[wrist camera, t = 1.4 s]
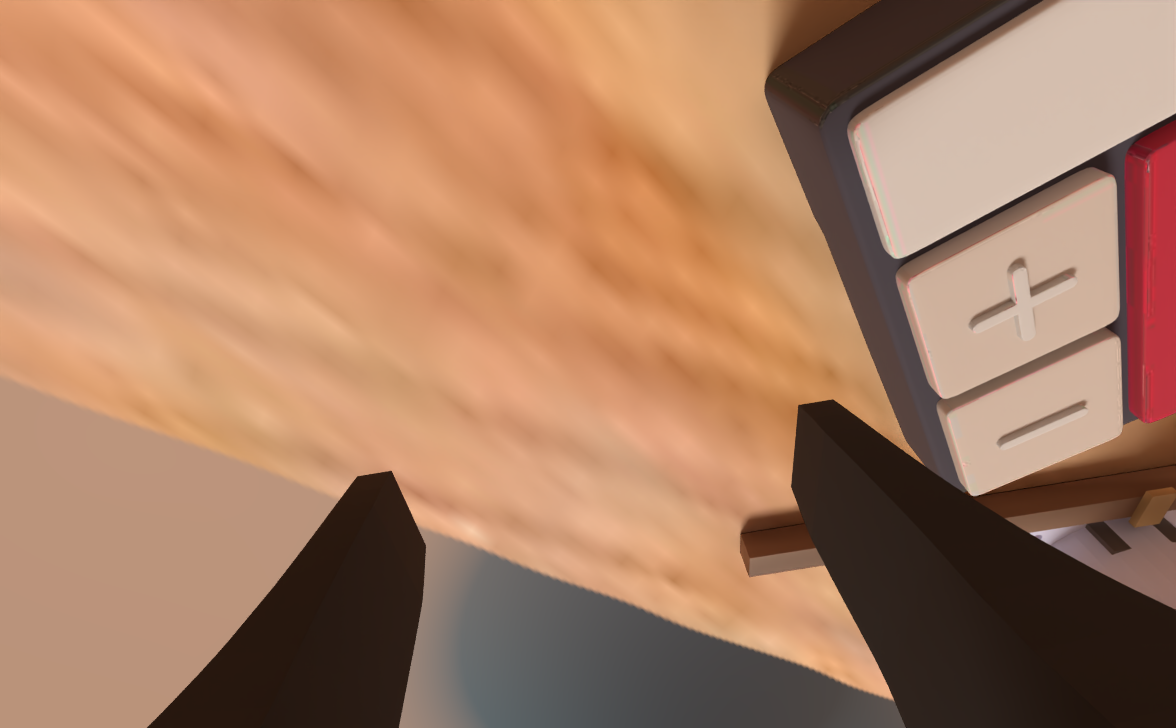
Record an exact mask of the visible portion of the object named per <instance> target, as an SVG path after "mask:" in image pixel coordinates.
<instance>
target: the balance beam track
mask: <svg viewBox="0 0 1176 728" xmlns="http://www.w3.org/2000/svg"><path fill="white" fill-rule="evenodd" d="M972 498H973V499H975V500H976V501H978V502H979V503H981V504H983V505H984V506H986V507H987V508H989V509H991V510H992V511H994V512H995V513H997V514H999V515H1000V516H1002V517H1003V518H1005V519H1007V520H1008V521H1010V522H1011V523H1013V524H1015V525H1016V526H1018V527H1020V528H1021V529H1023V530H1025V531H1027V532H1028V533H1032V532H1038V531H1045V530H1051V529H1057V528H1064V527H1070V526H1076V525H1083V524H1087V525H1086V527H1085V528H1086V529H1087V530H1088V531H1089V532H1090V533H1091V534H1092V535H1093V536H1094V537H1095V538H1096V539H1097V540H1098V541H1099V542H1100V543H1101V544H1102V545H1103V546H1104V547H1105V548H1106V549H1107V550H1108V551H1109V552H1110V553H1111V554H1112V555H1114V554H1116V553H1119V552H1122V551H1126V550H1129V549H1132V548H1131V547H1130V546H1129V545H1128V544H1127V543H1126V542H1125V541H1124V540H1122V539H1121V538H1120V537H1119V536H1118V535H1117V534H1116V533H1115V532H1114V531H1113V530H1112V529H1111V528H1110V527H1109V526H1108V525H1107V524H1106V523H1105V522H1104V521H1108V520H1114V519H1121V518H1127V517H1131V518H1130V520H1129V521H1128V522H1129V523H1130V524H1131V525H1132V526H1133V527H1134V528H1136V527H1142V526H1148V525H1153V526H1154V527H1155V528H1157V529H1158V530H1159V531H1160V532H1161V533H1162V534H1163V535H1164V536H1165V537H1167V538H1168V539H1169V540H1170V541H1171V542H1176V528H1175V527H1174V526H1173V525H1172V524H1171V523H1170V522H1169V521H1167V520H1166V519H1165V518H1164V516H1165V514H1166V513H1167V511H1171V510H1176V465H1174V466H1167V467H1161V468H1155V469H1148V470H1142V471H1136V472H1129V473H1123V474H1117V475H1111V476H1104V477H1098V478H1092V479H1085V480H1079V481H1073V482H1066V483H1060V484H1054V485H1047V486H1041V487H1035V488H1028V489H1022V490H1016V491H1010V492H1003V493H997V494H991V495H984V496H978V497H972ZM740 553H741V556H742V558H743V561H744V564H745V567H746V570H747V572H748V575H749V577H753V576H759V575H766V574H772V573H778V572H785V571H791V570H797V569H804V568H810V567H816V566H823V565H825V564H824V562H823V561H822V559H821V557H820V555H819V553H818V551H817V549H816V547H815V545H814V543H813V541H812V539H811V537H810V535H809V532H808V530H807V527H806V525H805V524H801V525H795V526H789V527H782V528H776V529H770V530H763V531H757V532H751V533H744V534H741V546H740Z"/></svg>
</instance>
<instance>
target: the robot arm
mask: <svg viewBox="0 0 1176 728" xmlns="http://www.w3.org/2000/svg"><path fill="white" fill-rule="evenodd" d="M791 488H792V490H793V493H794V496H795V498H796V501H797V504H798V506H799V509H800V512H801V514H802V517H803V520H804V522H805V525H806V527H807V530H808V532H809V535H810V537H811V539H812V541H813V543H814V545H815V547H816V549H817V551H818V553H819V555H820V557H821V559H822V561H823V562H824V564H825V566H826V568H827V570H828V572H829V574H830V576H831V578H832V580H833V581H834V583H835V585H836V587H837V589H838V591H839V593H840V594H841V596H842V598H843V600H844V602H845V604H846V606H847V608H848V609H849V611H850V613H851V615H852V617H853V619H854V621H855V622H856V624H857V626H858V628H859V630H860V632H861V634H862V635H863V637H864V639H865V641H866V643H867V645H868V647H869V649H870V650H871V652H872V654H873V656H874V658H875V660H876V662H877V664H878V666H879V668H880V670H881V672H882V674H883V676H884V678H885V680H886V682H887V685H888V687H889V689H890V691H891V694H892V696H893V698H894V701H895V703H896V705H897V708H898V710H899V713H900V715H901V717H902V720H903V722H904V724H905V727H906V728H1176V542H1171V541H1170V540H1169V539H1168V538H1167V537H1165V536H1164V535H1163V534H1162V533H1161V532H1160V531H1159V530H1158V529H1157V528H1155V527H1154V526H1153V525H1148V526H1142V527H1136V528H1134V527H1133V526H1132V525H1131V524H1130V523H1129V522H1128V521H1129V520H1130V518H1131V517H1127V518H1121V519H1114V520H1108V521H1104V522H1105V523H1106V524H1107V525H1108V526H1109V527H1110V528H1111V529H1112V530H1113V531H1114V532H1115V533H1116V534H1117V535H1118V536H1119V537H1120V538H1121V539H1122V540H1124V541H1125V542H1126V543H1127V544H1128V545H1129V546H1130V547H1131V548H1132V549H1129V550H1126V551H1122V552H1119V553H1116V554H1114V555H1112V554H1111V553H1110V552H1109V551H1108V550H1107V549H1106V548H1105V547H1104V546H1103V545H1102V544H1101V543H1100V542H1099V541H1098V540H1097V539H1096V538H1095V537H1094V536H1093V535H1092V534H1091V533H1090V532H1089V531H1088V530H1087V529H1086V528H1085V527H1086V525H1087V524H1083V525H1076V526H1070V527H1064V528H1057V529H1051V530H1045V531H1038V532H1032V533H1028V532H1027V531H1025V530H1023V529H1021V528H1020V527H1018V526H1016V525H1015V524H1013V523H1011V522H1010V521H1008V520H1007V519H1005V518H1003V517H1002V516H1000V515H999V514H997V513H995V512H994V511H992V510H991V509H989V508H987V507H986V506H984V505H983V504H981V503H979V502H978V501H976V500H975V499H973V498H971V497H970V496H968V495H967V494H965V493H964V492H962V491H961V490H959V489H958V488H956V487H955V486H953V485H952V484H950V483H949V482H947V481H946V480H944V479H943V478H941V477H940V476H938V475H937V474H935V473H934V472H933V471H931V470H930V469H928V468H927V467H925V466H924V465H922V464H921V463H920V462H918V461H917V460H915V459H914V458H913V457H911V456H910V455H908V454H907V453H906V452H904V451H903V450H901V449H900V448H899V447H897V446H896V445H894V444H893V443H892V442H890V441H889V440H888V439H886V438H885V437H884V436H882V435H881V434H879V433H878V432H877V431H875V430H874V429H873V428H871V427H870V426H869V425H867V424H866V423H865V422H863V421H862V420H861V419H859V418H858V417H857V416H855V415H854V414H852V413H851V412H850V411H848V410H847V409H846V408H844V407H843V406H842V405H840V404H839V403H837V402H836V401H835V400H827V401H821V402H815V403H809V404H802V405H798V416H797V427H796V439H795V450H794V461H793V473H792V484H791ZM1164 518H1165V519H1166V520H1167V521H1169V522H1170V523H1171V524H1172V525H1173V526H1174V527H1175V528H1176V510H1171V511H1167V513H1166V514H1165V516H1164ZM425 553H426V545H425V543H424V540H423V538H422V536H421V534H420V532H419V530H418V527H417V525H416V523H415V521H414V519H413V517H412V514H411V512H410V510H409V508H408V506H407V503H406V501H405V499H404V497H403V495H402V493H401V490H400V488H399V486H398V484H397V482H396V480H395V477H394V475H393V473H392V471H388V472H382V473H376V474H369V475H363V476H357V478H356V479H355V480H354V482H353V483H352V484H351V485H350V487H349V488H348V489H347V491H346V492H345V493H344V495H343V496H342V497H341V499H340V500H339V501H338V503H337V504H336V505H335V507H334V508H333V510H332V511H331V512H330V513H329V515H328V516H327V518H326V519H325V520H324V522H323V523H322V524H321V526H320V527H319V528H318V530H317V531H316V532H315V534H314V535H313V536H312V538H311V539H310V540H309V542H308V543H307V544H306V546H305V547H304V548H303V550H302V551H301V552H300V553H299V555H298V556H297V557H296V559H295V560H294V561H293V563H292V564H291V565H290V566H289V568H288V569H287V570H286V572H285V573H284V574H283V576H282V577H281V578H280V579H279V581H278V582H277V583H276V585H275V586H274V587H273V588H272V590H271V591H270V592H269V593H268V594H267V596H266V597H265V598H264V599H263V601H262V602H261V603H260V604H259V605H258V606H257V608H256V609H255V610H254V611H253V612H252V614H251V615H250V616H249V617H248V618H247V620H246V621H245V622H244V623H243V624H242V626H241V627H240V628H239V629H238V630H237V632H236V633H235V634H234V635H233V637H232V638H231V639H230V640H229V641H228V642H227V643H226V645H225V646H224V647H223V648H222V649H221V650H220V651H219V652H218V654H217V655H216V656H215V657H214V658H213V659H212V660H211V661H210V662H209V664H208V665H207V666H206V667H205V668H204V669H203V670H202V671H201V672H200V673H199V675H198V676H197V677H196V678H195V679H194V680H193V681H192V682H191V683H190V684H189V685H188V686H187V687H186V688H185V690H183V691H182V693H180V694H179V696H178V697H177V698H176V699H175V700H174V701H173V702H172V703H171V704H170V705H169V706H168V707H167V708H166V709H165V710H164V711H163V712H162V713H161V714H160V715H159V716H158V717H157V718H156V719H155V720H154V721H153V722H152V723H151V724H150V725H149V726H148V727H147V728H399V723H400V718H401V713H402V708H403V703H404V697H405V692H406V687H407V682H408V676H409V671H410V666H411V660H412V656H413V650H414V645H415V640H416V634H417V629H418V623H419V617H420V612H421V607H422V600H423V587H424V572H425V571H424V570H425Z"/></svg>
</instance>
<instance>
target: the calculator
mask: <svg viewBox="0 0 1176 728" xmlns="http://www.w3.org/2000/svg"><path fill="white" fill-rule="evenodd" d="M765 96H766V99H767V102H768V105H769V107H770V110H771V112H772V115H773V117H774V120H775V122H776V125H777V127H778V129H779V132H780V134H781V137H782V139H783V142H784V144H785V147H786V149H787V151H788V154H789V156H790V159H791V161H792V164H793V166H794V169H795V171H796V173H797V176H798V178H799V181H800V183H801V186H802V188H803V191H804V193H805V195H806V198H807V200H808V203H809V205H810V208H811V210H812V212H813V215H814V217H815V219H816V221H817V222H818V224H819V226H820V228H821V230H822V232H823V233H824V236H825V238H826V241H827V243H828V246H829V248H830V251H831V253H832V256H833V259H834V261H835V264H836V266H837V269H838V271H839V274H840V277H841V279H842V282H843V284H844V287H845V289H846V292H847V295H848V297H849V300H850V302H851V305H852V307H853V310H854V313H855V315H856V318H857V320H858V323H859V326H860V328H861V331H862V333H863V336H864V338H865V341H866V344H867V346H868V349H869V351H870V354H871V356H872V359H873V361H874V363H875V366H876V368H877V371H878V373H879V376H880V378H881V381H882V383H883V386H884V388H885V391H886V393H887V396H888V398H889V401H890V403H891V405H892V408H893V410H894V413H895V415H896V418H897V420H898V423H899V425H900V427H901V430H902V432H903V435H904V437H905V439H906V441H907V443H908V444H909V445H910V447H911V448H912V449H913V451H914V452H915V453H916V454H917V456H918V457H919V458H920V460H921V461H922V462H923V464H924V465H925V466H926V467H927V468H928V469H930V470H931V471H933V472H934V473H935V474H937V475H938V476H940V477H941V478H943V479H944V480H946V481H947V482H949V483H950V484H952V485H953V486H955V487H956V488H958V489H959V490H961V491H962V492H966V491H968V492H969V494H971V495H972V496H978V495H981V494H984V493H986V492H989V491H991V490H993V489H996V488H998V487H1001V486H1003V485H1005V484H1008V483H1010V482H1012V481H1015V480H1017V479H1020V478H1022V477H1024V476H1027V475H1029V474H1031V473H1034V472H1036V471H1039V470H1041V469H1043V468H1046V467H1048V466H1050V465H1053V464H1055V463H1058V462H1060V461H1062V460H1065V459H1067V458H1069V457H1072V456H1074V455H1077V454H1079V453H1081V452H1084V451H1086V450H1088V449H1091V448H1093V447H1096V446H1098V445H1100V444H1103V443H1105V442H1108V441H1110V440H1112V439H1114V438H1116V437H1118V436H1119V435H1120V434H1121V433H1122V429H1123V425H1124V424H1126V423H1129V422H1131V421H1134V420H1136V419H1138V418H1139V419H1140V420H1141V421H1143V422H1144V423H1152V422H1155V421H1157V420H1160V419H1162V418H1165V417H1167V416H1169V415H1172V414H1174V413H1176V0H881V1H879V2H877V3H876V4H874V5H873V6H871V7H870V8H868V9H867V10H865V11H864V12H862V13H861V14H859V15H857V16H856V17H854V18H853V19H851V20H850V21H848V22H847V23H845V24H844V25H842V26H840V27H839V28H837V29H836V30H834V31H833V32H831V33H830V34H828V35H827V36H825V37H824V38H822V39H820V40H819V41H817V42H816V43H814V44H813V45H811V46H810V47H808V48H807V49H805V50H803V51H802V52H800V53H799V54H797V55H796V56H794V57H793V58H791V59H790V60H788V61H787V62H785V63H784V64H782V65H781V66H779V67H778V68H776V69H775V70H774V71H773V72H772V73H771V74H770V75H769V77H768V78H767V81H766V84H765Z"/></svg>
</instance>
